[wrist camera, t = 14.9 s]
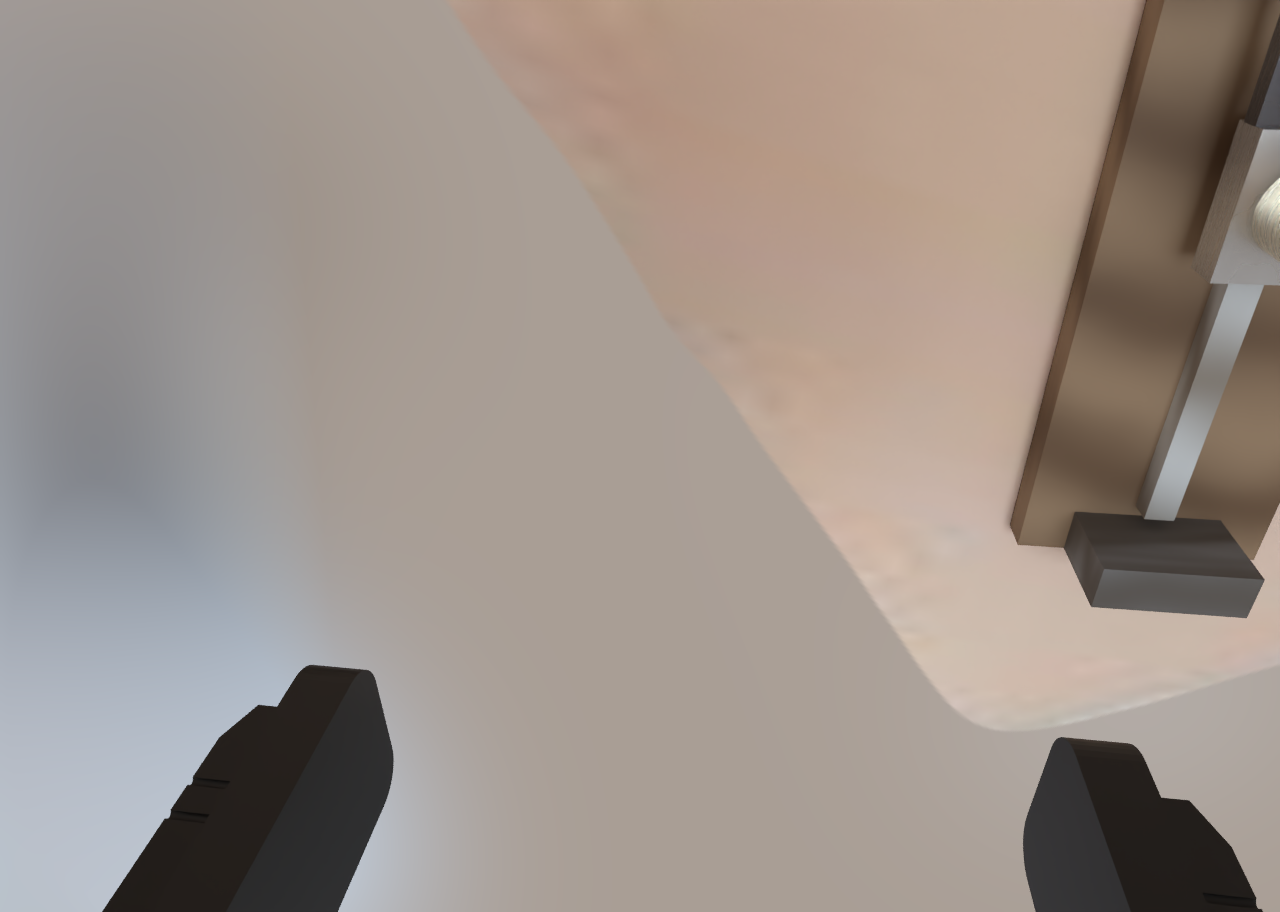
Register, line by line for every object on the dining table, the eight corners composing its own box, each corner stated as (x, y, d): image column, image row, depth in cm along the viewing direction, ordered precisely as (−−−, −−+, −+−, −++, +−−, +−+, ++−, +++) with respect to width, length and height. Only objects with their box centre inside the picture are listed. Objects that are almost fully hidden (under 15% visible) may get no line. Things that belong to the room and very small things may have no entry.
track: (1156, -38, 29) (1240, -28, 24) (1491, -41, 28) (1656, -31, 22) (1010, 525, 41) (1044, 613, 36) (1238, 539, 40) (1307, 631, 35)
